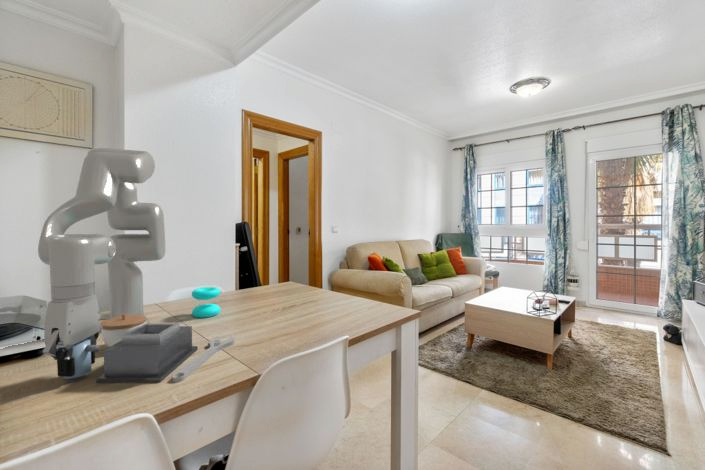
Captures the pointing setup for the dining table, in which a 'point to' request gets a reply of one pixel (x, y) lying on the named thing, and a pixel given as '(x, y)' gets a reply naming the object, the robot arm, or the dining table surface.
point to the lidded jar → (120, 327)
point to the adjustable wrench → (202, 358)
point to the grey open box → (147, 353)
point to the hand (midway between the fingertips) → (77, 368)
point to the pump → (82, 357)
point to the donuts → (206, 309)
